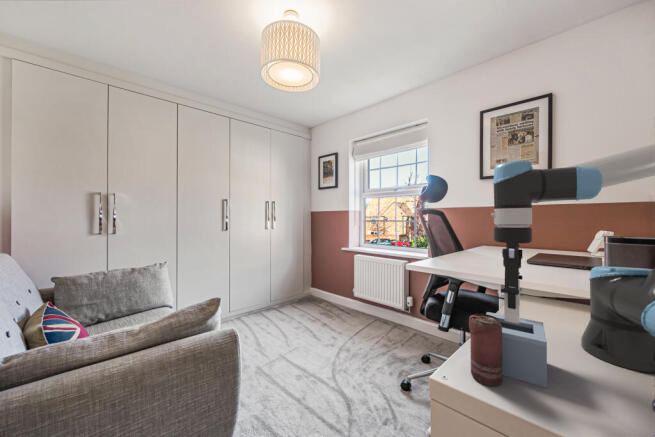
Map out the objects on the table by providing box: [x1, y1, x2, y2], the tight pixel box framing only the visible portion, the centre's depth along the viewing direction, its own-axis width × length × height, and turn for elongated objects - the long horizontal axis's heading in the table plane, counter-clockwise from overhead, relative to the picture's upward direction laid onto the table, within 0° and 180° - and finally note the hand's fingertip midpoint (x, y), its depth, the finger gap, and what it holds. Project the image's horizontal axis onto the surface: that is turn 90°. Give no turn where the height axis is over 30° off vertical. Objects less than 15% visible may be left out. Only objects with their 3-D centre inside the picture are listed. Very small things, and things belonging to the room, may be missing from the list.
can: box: [468, 313, 503, 387], centre depth 58 cm, size 6×6×14 cm
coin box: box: [485, 311, 548, 389], centre depth 63 cm, size 12×12×10 cm
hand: (512, 312), depth 63 cm, fingers open, 13 cm apart
